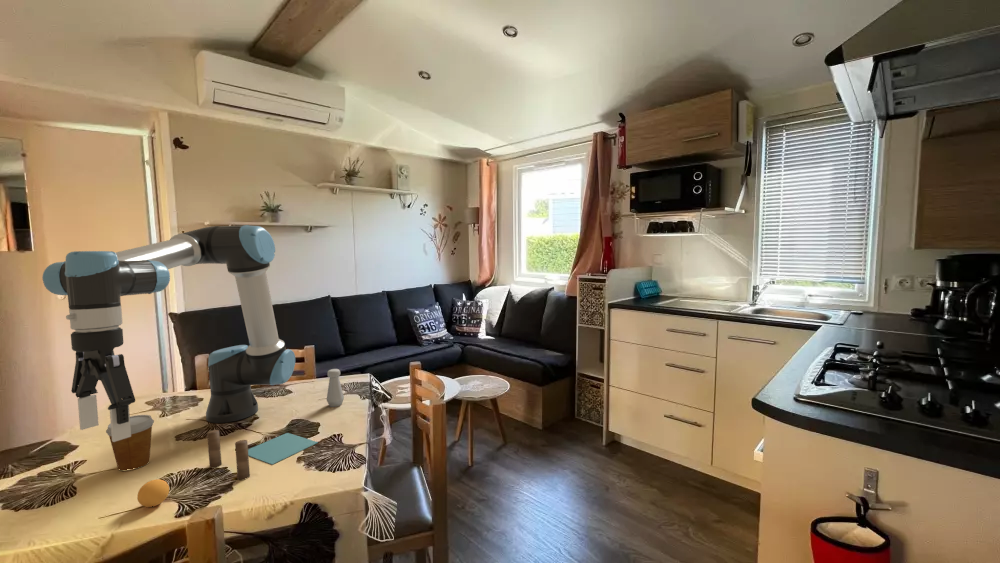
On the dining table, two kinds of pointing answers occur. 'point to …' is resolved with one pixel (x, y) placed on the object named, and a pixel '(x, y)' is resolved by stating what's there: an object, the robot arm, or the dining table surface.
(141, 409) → the dining table surface
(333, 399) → the salt shaker
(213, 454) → the inner post
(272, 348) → the robot arm
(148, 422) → the disposable coffee cup
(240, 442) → the outer post
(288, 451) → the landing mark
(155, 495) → the ball
